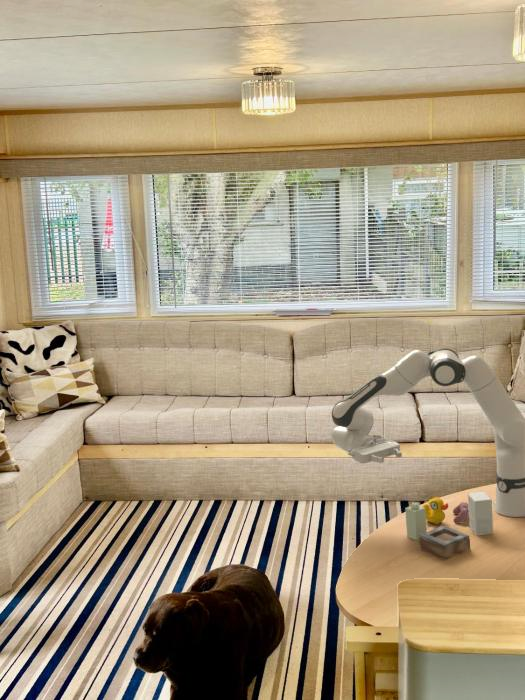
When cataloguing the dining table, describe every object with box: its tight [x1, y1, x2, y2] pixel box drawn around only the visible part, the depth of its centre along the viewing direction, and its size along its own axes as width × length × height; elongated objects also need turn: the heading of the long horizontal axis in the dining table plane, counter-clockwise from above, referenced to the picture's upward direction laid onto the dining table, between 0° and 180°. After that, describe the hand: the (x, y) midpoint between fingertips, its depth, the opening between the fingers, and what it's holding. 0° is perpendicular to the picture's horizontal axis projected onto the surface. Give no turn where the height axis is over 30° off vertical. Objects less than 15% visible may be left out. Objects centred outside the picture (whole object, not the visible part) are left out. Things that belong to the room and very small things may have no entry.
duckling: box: [422, 496, 449, 525], centre depth 286 cm, size 11×5×10 cm, turn 44°
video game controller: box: [452, 501, 469, 524], centre depth 288 cm, size 10×5×7 cm, turn 168°
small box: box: [467, 491, 494, 536], centre depth 275 cm, size 8×6×13 cm
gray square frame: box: [419, 524, 471, 561], centre depth 264 cm, size 12×12×5 cm
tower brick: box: [404, 502, 428, 541], centre depth 276 cm, size 5×5×12 cm
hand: (391, 458), depth 280 cm, fingers open, 8 cm apart
